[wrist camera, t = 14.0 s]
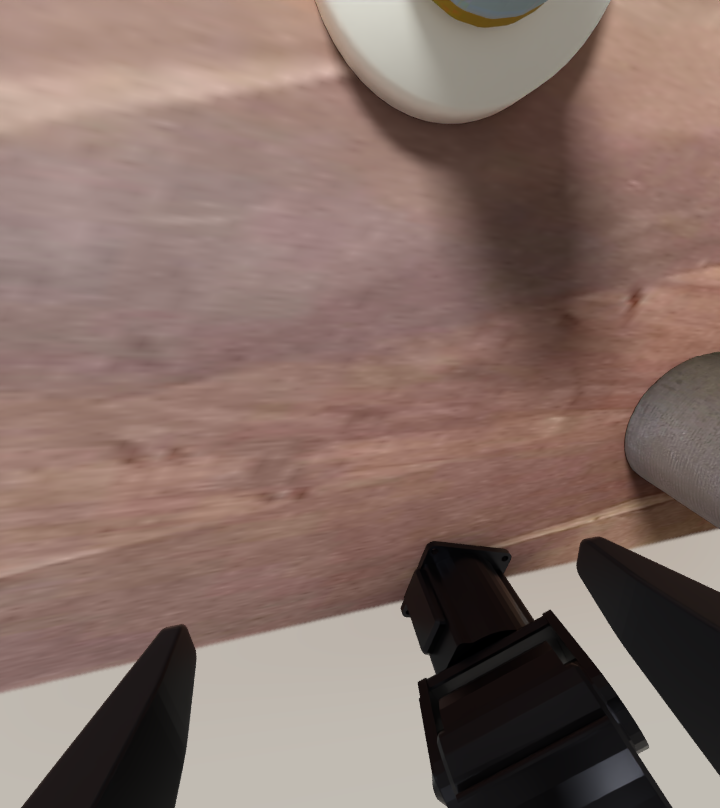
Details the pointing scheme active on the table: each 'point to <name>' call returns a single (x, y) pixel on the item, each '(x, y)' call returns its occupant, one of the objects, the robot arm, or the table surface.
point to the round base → (454, 53)
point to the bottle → (489, 11)
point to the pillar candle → (681, 435)
